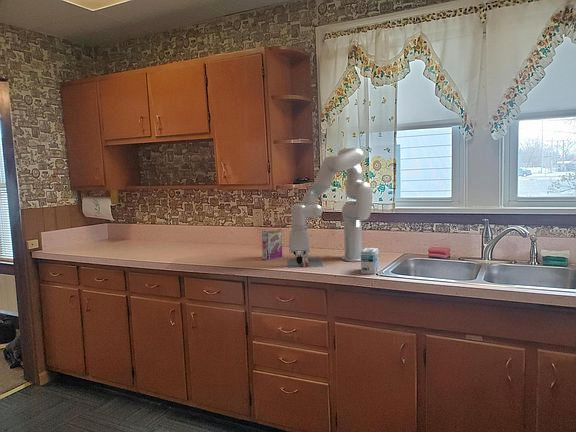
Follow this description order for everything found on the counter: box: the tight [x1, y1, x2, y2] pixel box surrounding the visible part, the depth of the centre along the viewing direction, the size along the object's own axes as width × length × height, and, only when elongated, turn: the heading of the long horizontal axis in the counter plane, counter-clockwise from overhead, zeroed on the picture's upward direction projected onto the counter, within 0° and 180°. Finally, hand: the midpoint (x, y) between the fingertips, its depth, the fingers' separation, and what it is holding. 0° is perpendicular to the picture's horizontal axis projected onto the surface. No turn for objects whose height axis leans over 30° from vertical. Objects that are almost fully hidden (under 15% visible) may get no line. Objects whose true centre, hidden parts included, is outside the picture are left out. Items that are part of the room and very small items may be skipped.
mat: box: [286, 257, 325, 269], centre depth 240 cm, size 18×23×1 cm
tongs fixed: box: [303, 256, 310, 268], centre depth 238 cm, size 19×3×2 cm, turn 2°
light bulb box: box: [360, 247, 380, 275], centre depth 217 cm, size 11×7×11 cm, turn 158°
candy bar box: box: [261, 228, 283, 261], centre depth 255 cm, size 11×5×16 cm, turn 132°
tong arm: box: [302, 256, 307, 268], centre depth 236 cm, size 16×1×2 cm, turn 1°
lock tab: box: [298, 251, 309, 259], centre depth 250 cm, size 5×5×3 cm
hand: (299, 263), depth 232 cm, fingers closed
